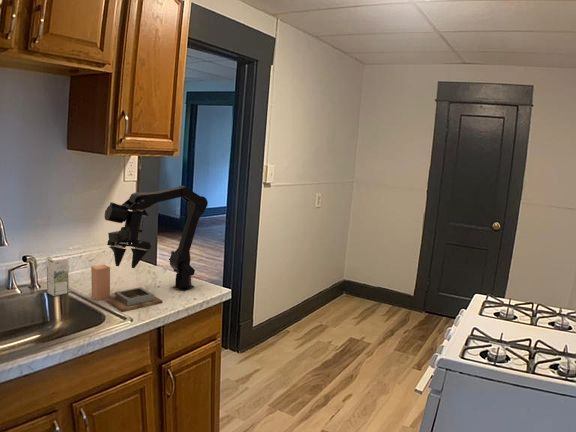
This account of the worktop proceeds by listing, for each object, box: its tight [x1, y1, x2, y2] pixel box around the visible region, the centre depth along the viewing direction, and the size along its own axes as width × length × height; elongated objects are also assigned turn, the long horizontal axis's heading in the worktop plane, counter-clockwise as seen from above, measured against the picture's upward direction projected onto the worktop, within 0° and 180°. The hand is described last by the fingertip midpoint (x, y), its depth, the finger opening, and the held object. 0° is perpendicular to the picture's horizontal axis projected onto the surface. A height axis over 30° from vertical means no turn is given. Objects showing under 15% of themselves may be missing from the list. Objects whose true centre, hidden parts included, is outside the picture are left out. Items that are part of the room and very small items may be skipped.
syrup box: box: [46, 254, 70, 297], centre depth 177 cm, size 6×6×14 cm
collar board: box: [105, 287, 163, 313], centre depth 174 cm, size 16×13×4 cm
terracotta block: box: [90, 264, 111, 301], centre depth 176 cm, size 5×5×12 cm
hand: (124, 267), depth 172 cm, fingers open, 9 cm apart
